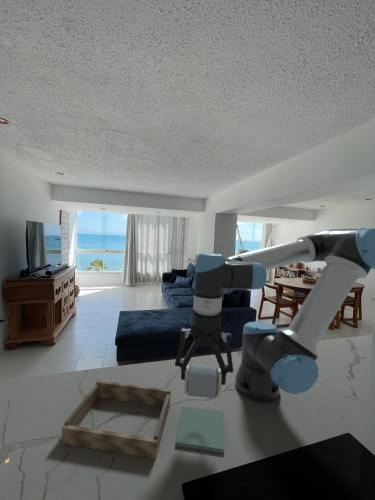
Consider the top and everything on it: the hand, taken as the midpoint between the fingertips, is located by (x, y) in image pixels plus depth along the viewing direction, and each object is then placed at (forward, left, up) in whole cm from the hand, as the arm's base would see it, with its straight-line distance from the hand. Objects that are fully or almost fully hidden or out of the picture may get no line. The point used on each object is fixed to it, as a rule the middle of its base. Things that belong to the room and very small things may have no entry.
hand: (202, 392), depth 60 cm
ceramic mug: (0, -1, 0) cm, 1 cm away
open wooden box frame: (+22, +1, -10) cm, 24 cm away
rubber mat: (0, 0, -10) cm, 10 cm away
